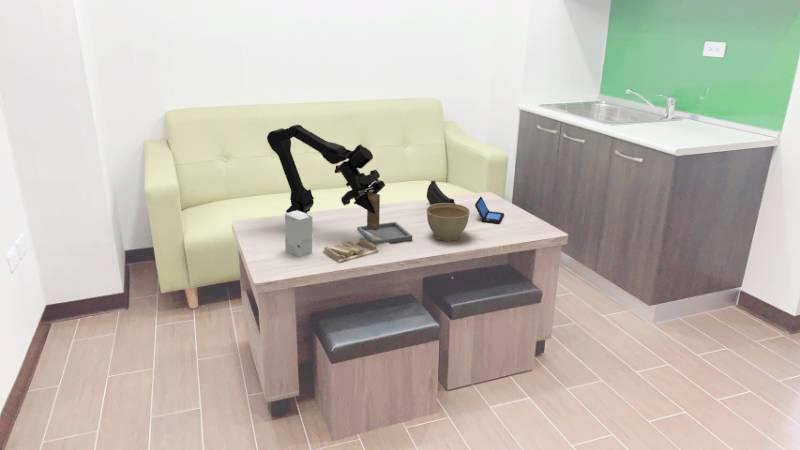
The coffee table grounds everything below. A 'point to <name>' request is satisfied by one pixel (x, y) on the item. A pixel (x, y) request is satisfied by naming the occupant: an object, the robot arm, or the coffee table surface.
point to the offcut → (343, 250)
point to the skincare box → (298, 233)
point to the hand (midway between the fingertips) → (376, 212)
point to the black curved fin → (437, 195)
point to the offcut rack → (357, 250)
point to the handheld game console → (488, 213)
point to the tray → (386, 233)
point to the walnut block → (374, 218)
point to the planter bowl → (447, 220)
